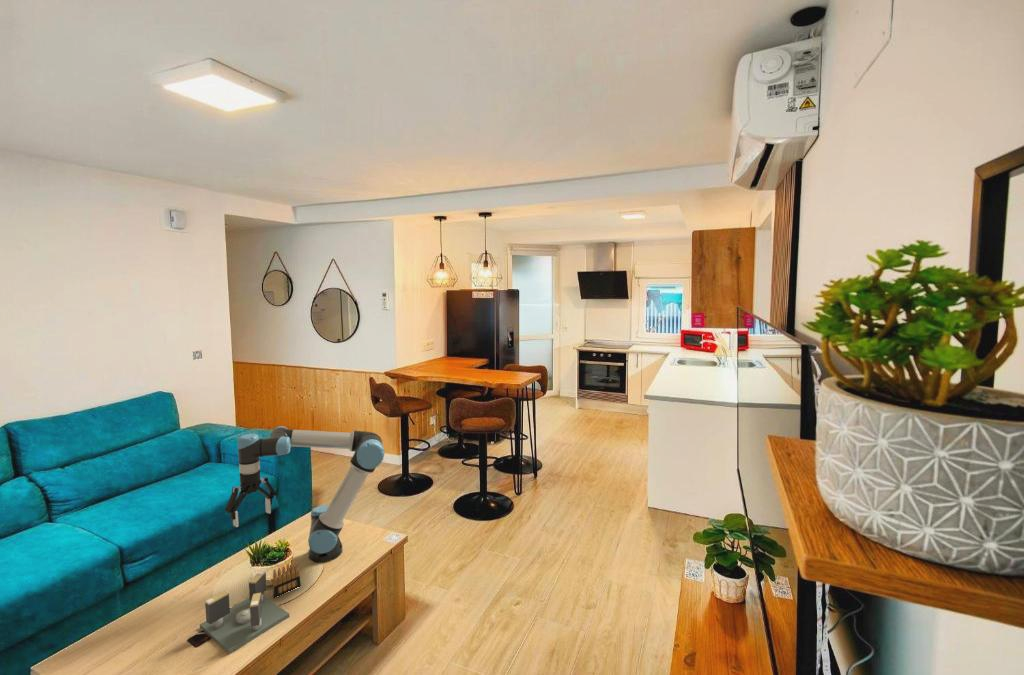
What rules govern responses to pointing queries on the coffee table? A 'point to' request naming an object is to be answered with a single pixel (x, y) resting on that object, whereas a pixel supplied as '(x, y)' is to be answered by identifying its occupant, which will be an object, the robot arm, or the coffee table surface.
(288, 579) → the ammunition clip
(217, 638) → the plate
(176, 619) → the coffee table surface
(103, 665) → the coffee table surface
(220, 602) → the knob
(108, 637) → the coffee table surface
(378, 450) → the robot arm
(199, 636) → the smartphone
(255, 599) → the knob
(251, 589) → the grey brown rectangular block
